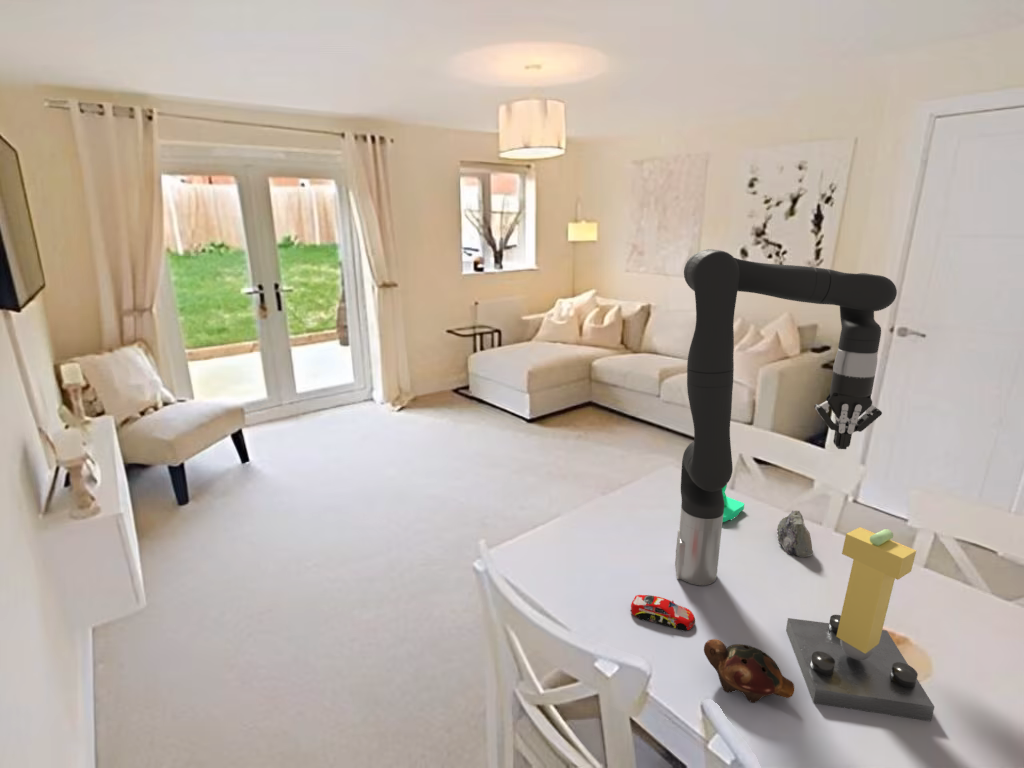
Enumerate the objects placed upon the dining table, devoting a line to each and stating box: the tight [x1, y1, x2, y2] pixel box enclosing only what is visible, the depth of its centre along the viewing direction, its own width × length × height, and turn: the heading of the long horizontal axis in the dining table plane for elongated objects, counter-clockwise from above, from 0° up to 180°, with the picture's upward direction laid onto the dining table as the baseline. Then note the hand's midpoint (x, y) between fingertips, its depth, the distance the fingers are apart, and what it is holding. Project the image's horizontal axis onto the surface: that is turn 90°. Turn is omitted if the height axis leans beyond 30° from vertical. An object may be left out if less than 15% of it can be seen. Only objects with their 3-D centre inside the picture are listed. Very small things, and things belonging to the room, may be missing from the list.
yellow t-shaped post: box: [836, 526, 917, 660], centre depth 97 cm, size 5×9×25 cm, turn 33°
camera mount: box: [722, 484, 745, 523], centre depth 155 cm, size 12×8×10 cm, turn 130°
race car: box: [630, 594, 696, 632], centre depth 115 cm, size 13×5×4 cm, turn 65°
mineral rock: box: [776, 510, 814, 558], centre depth 140 cm, size 13×11×10 cm
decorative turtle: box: [703, 638, 795, 704], centre depth 97 cm, size 10×15×8 cm, turn 68°
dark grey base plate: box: [785, 614, 935, 722], centre depth 100 cm, size 18×18×5 cm
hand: (840, 447), depth 118 cm, fingers closed
